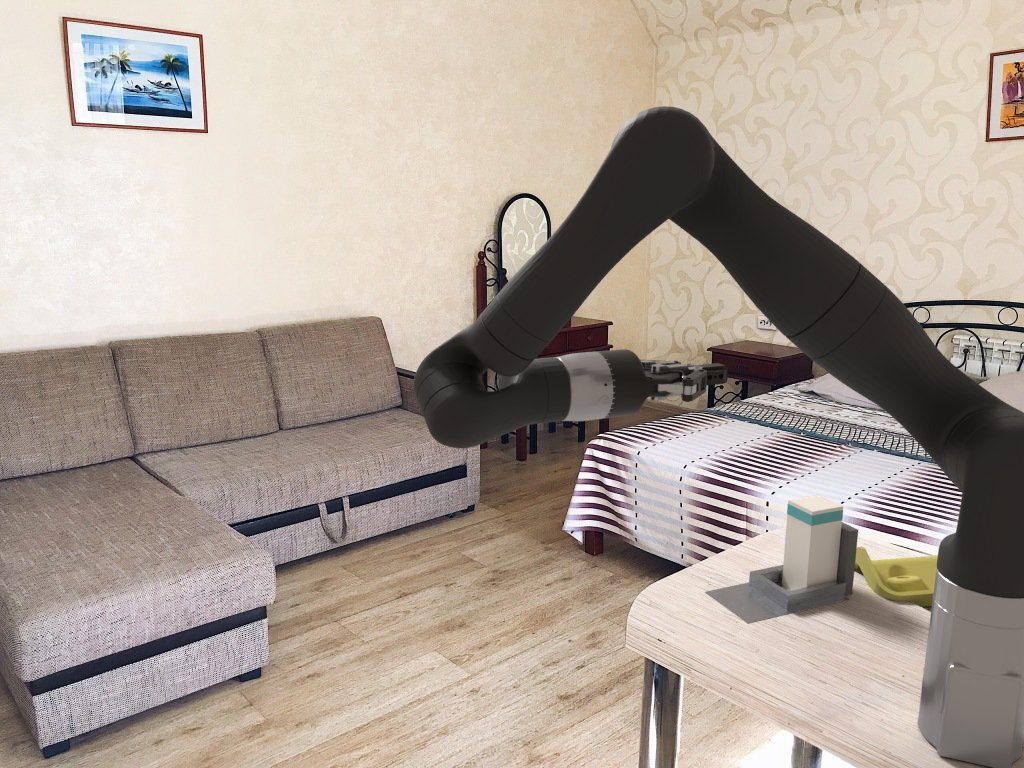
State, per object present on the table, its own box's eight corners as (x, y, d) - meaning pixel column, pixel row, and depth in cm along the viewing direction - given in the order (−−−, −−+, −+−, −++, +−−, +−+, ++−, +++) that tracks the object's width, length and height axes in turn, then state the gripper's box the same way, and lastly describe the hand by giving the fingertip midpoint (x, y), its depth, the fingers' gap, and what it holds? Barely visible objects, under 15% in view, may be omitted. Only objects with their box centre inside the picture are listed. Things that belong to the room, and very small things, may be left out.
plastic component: (883, 597, 109) (855, 537, 116) (872, 631, 113) (845, 571, 121) (1038, 585, 108) (999, 526, 116) (1020, 620, 113) (984, 561, 121)
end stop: (842, 606, 111) (849, 531, 108) (804, 584, 117) (810, 512, 115) (851, 604, 111) (858, 529, 109) (813, 582, 118) (819, 511, 115)
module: (805, 599, 109) (812, 511, 107) (781, 584, 114) (788, 499, 111) (835, 592, 111) (843, 506, 109) (811, 577, 115) (818, 494, 113)
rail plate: (747, 634, 104) (748, 608, 103) (703, 602, 112) (705, 577, 111) (847, 610, 110) (850, 585, 109) (799, 581, 118) (801, 558, 117)
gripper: (625, 363, 87) (762, 351, 93) (568, 342, 99) (693, 333, 105) (623, 433, 89) (758, 417, 95) (567, 405, 101) (690, 392, 107)
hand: (723, 373), depth 100 cm, fingers closed
